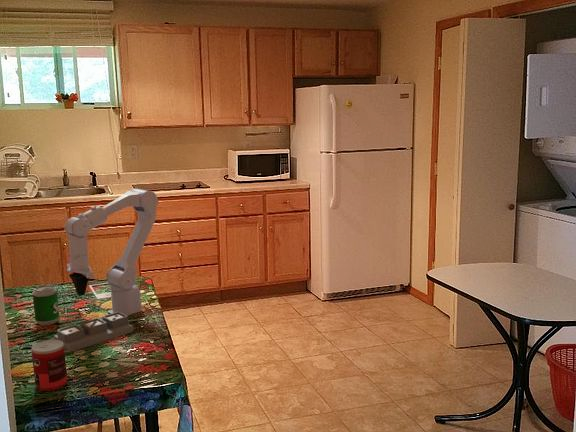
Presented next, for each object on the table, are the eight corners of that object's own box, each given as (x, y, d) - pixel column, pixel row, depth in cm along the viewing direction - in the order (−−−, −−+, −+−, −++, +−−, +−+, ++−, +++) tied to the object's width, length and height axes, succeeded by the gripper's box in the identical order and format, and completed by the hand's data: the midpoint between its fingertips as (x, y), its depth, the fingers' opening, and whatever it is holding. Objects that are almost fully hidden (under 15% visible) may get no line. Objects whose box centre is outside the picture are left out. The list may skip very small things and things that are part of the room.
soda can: (51, 327, 194) (47, 292, 191) (30, 325, 195) (27, 291, 193) (64, 318, 201) (61, 285, 199) (44, 317, 202) (40, 284, 200)
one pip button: (74, 332, 183) (74, 326, 183) (81, 336, 180) (80, 330, 180) (61, 336, 180) (60, 330, 180) (67, 340, 177) (66, 334, 177)
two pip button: (118, 319, 193) (117, 313, 193) (125, 322, 190) (124, 316, 190) (106, 323, 190) (105, 317, 190) (112, 326, 187) (112, 320, 187)
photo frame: (97, 298, 219) (89, 285, 234) (97, 301, 219) (89, 287, 234) (136, 291, 225) (126, 279, 241) (137, 294, 226) (126, 281, 241)
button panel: (116, 322, 197) (115, 309, 196) (133, 331, 189) (132, 317, 188) (54, 341, 182) (52, 327, 181) (70, 352, 175) (69, 337, 174)
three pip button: (97, 325, 188) (96, 319, 188) (103, 329, 185) (103, 323, 185) (84, 329, 185) (83, 323, 185) (90, 333, 182) (90, 327, 182)
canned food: (40, 378, 159) (36, 340, 156) (71, 376, 159) (67, 338, 157) (31, 392, 151) (26, 352, 149) (63, 390, 152) (59, 350, 150)
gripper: (56, 252, 193) (59, 292, 196) (77, 260, 183) (79, 302, 186) (77, 248, 198) (79, 287, 201) (98, 256, 188) (100, 297, 191)
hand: (81, 294), depth 193 cm, fingers closed
